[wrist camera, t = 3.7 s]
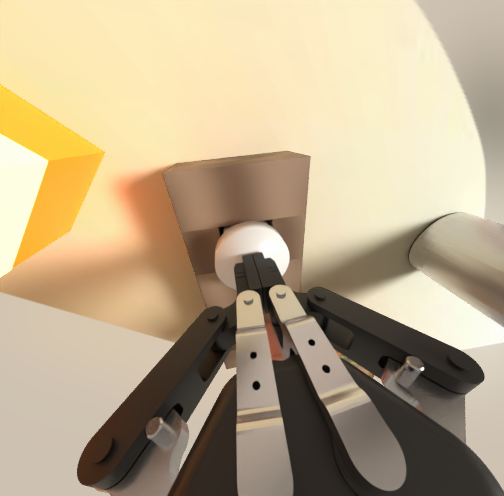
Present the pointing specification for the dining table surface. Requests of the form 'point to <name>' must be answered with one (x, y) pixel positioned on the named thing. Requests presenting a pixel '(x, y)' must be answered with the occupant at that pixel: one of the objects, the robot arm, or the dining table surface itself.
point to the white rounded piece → (248, 248)
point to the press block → (239, 212)
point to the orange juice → (38, 179)
